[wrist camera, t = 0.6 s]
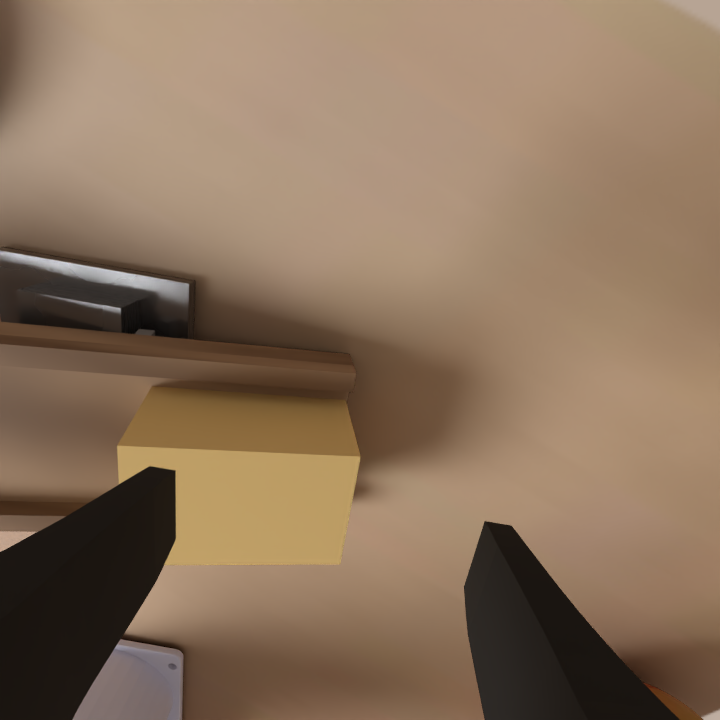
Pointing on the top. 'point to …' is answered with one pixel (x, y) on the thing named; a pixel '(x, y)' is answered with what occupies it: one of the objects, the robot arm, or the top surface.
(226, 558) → the block
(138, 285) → the pivot stand
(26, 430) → the beam
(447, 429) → the top surface
